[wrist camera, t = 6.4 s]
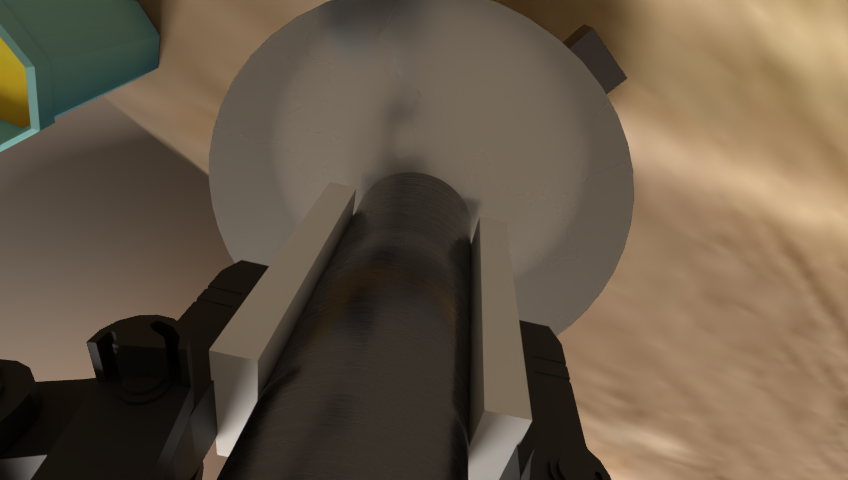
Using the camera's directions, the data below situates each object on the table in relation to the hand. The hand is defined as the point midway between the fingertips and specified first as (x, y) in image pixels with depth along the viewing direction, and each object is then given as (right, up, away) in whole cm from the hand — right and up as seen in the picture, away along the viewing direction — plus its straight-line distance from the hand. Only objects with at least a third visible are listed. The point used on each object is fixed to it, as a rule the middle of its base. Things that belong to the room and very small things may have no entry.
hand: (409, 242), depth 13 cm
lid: (0, +1, +2) cm, 2 cm away
